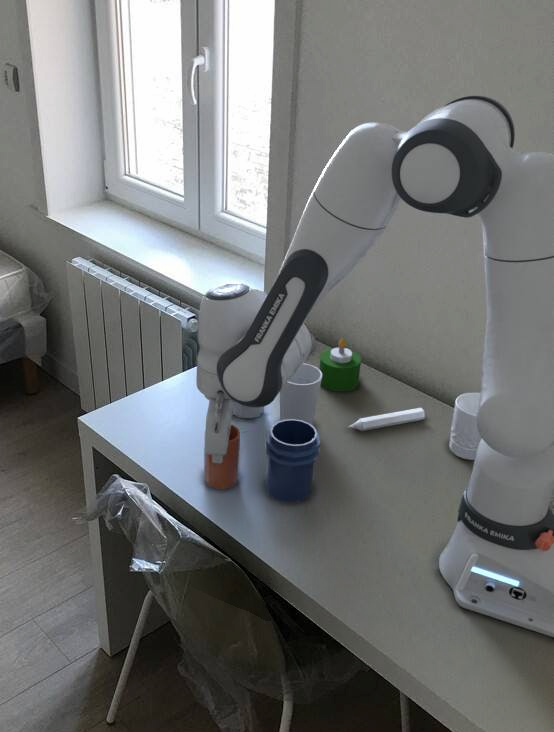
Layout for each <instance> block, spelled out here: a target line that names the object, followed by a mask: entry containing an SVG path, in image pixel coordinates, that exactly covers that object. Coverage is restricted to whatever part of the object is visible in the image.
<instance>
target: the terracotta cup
mask: <svg viewBox="0 0 554 732" xmlns="http://www.w3.org/2000/svg"><path fill="white" fill-rule="evenodd" d="M240 447H241V432H240V429H239V428H238V427H237V426H236V425H234V424H231V430H230V436H229V443H228V449H227V453H226V455H223V462H222V463H213V462H212V454H207V453H206V452H205V442H204V447H203V450H204V451H203V479H204V482H205V483H206V484H207V486H209V487H212V488H214V489H218V490H220V489H221V490H225V489H229V488H232V487H234V486H236V484H237V483H238V481H239V471H240V470H239V469H240V449H241V448H240Z"/></svg>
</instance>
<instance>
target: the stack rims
mask: <svg viewBox="0 0 554 732" xmlns="http://www.w3.org/2000/svg"><path fill="white" fill-rule="evenodd" d="M265 435H266V441H265V453H266V454H265V455H267V457H268V456H269V457H270V458H272V459H273V460H274V461H275V462H277V463H280V464H284V465H289V466H300V465H305V464H310V463H312V462H313V461H314V460H315V461H316V459H317V458H319V456H320V447H321V439H320V434H319V433H318V435H317V442H316V445H315V446H313V447H312V448H311V449H310V450H306V451H303V452H290V451H284V450H280V449H279V448H277V447H276V446H275V445H273V444H272V443H271V440H270V438H269V436H270V430H269V431H267V432H266V434H265ZM270 449H272V450H273V451H274V452H276V453H277V454H279V455H284V456H289V457H293V458H297V457H302V456H308V455H312V454H313V453H314V452H315V453H314V454H313V455H312V456H311V457H310V458H308V459H305V460H299V461H290V460H284V459H281V458H279V457H277V456H275V455H274V454H273V453H272V452H271V451H270Z"/></svg>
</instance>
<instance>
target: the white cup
mask: <svg viewBox="0 0 554 732" xmlns="http://www.w3.org/2000/svg"><path fill="white" fill-rule="evenodd" d="M480 395H481V392H465V393H462V394H460V395H458V396H457V398H455V402H454V409H453V415H452V420H451V428H450V438H449V443H448V447H449V449H450V452H451V453H453V454H454V455H455V456H456V457H459V458H461V459H463V460H469V461H475V457H476V453H477V449H478V446H479V443H480V441H481V439H482V437H481V436H480V434H479V431H478V429H477V423H476V418H477V411H478V406H479V401H480Z"/></svg>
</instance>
